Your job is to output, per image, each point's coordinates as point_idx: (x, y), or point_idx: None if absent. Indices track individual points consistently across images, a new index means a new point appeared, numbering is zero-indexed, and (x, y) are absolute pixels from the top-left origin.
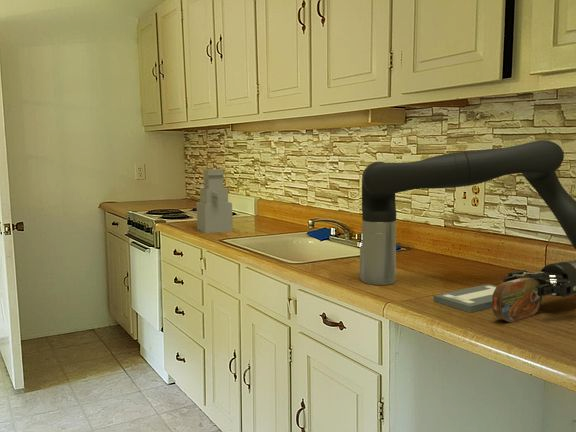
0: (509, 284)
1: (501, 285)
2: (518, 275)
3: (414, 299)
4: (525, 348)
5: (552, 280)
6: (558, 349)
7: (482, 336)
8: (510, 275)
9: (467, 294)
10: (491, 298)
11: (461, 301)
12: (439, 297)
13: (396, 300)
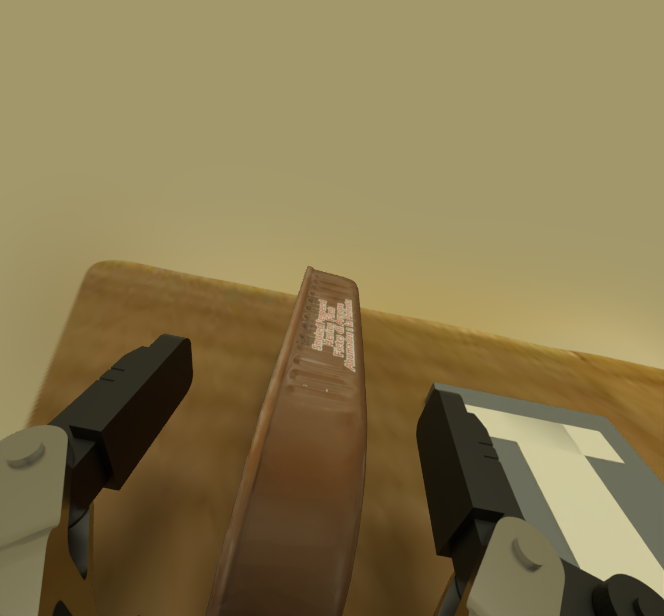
0: (308, 266)
1: (337, 275)
2: (498, 556)
3: (620, 414)
4: (187, 281)
5: (15, 541)
6: (110, 296)
7: (284, 293)
8: (596, 586)
9: (629, 532)
10: None
11: (501, 412)
12: (575, 411)
13: (603, 378)
